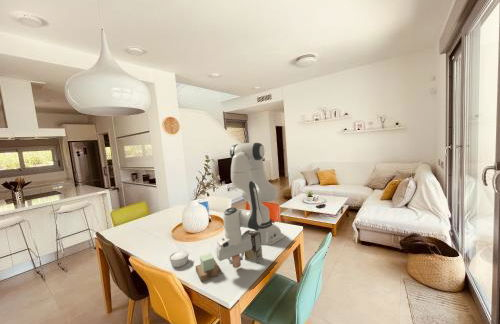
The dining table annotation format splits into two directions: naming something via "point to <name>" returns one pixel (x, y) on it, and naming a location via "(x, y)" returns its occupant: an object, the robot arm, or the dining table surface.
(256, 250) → the coffee box
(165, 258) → the dining table surface
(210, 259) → the green cube
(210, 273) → the walnut base
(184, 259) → the ramekin
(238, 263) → the reddish pink cylinder
